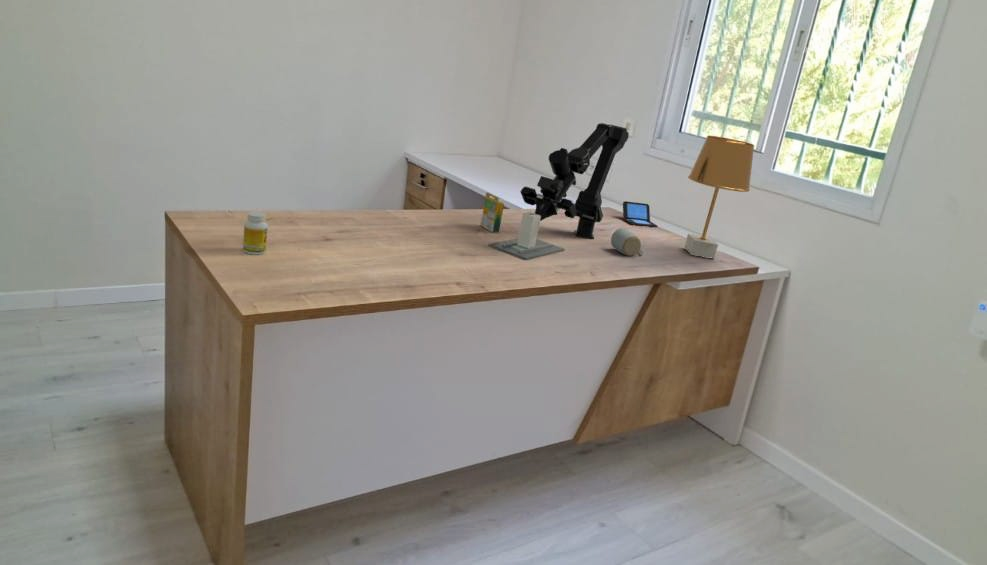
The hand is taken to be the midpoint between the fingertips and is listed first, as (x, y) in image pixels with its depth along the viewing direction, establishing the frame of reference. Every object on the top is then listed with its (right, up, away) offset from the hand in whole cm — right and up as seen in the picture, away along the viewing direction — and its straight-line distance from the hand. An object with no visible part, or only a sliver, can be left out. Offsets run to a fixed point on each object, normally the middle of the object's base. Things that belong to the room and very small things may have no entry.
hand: (534, 222), depth 213 cm
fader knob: (-3, -7, +1) cm, 8 cm away
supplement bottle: (-71, -11, -44) cm, 84 cm away
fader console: (-2, -8, +2) cm, 8 cm away
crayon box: (-14, -1, +16) cm, 21 cm away
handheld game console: (+46, +5, +67) cm, 81 cm away
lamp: (+61, -9, +34) cm, 70 cm away
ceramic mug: (+32, -9, +18) cm, 38 cm away
